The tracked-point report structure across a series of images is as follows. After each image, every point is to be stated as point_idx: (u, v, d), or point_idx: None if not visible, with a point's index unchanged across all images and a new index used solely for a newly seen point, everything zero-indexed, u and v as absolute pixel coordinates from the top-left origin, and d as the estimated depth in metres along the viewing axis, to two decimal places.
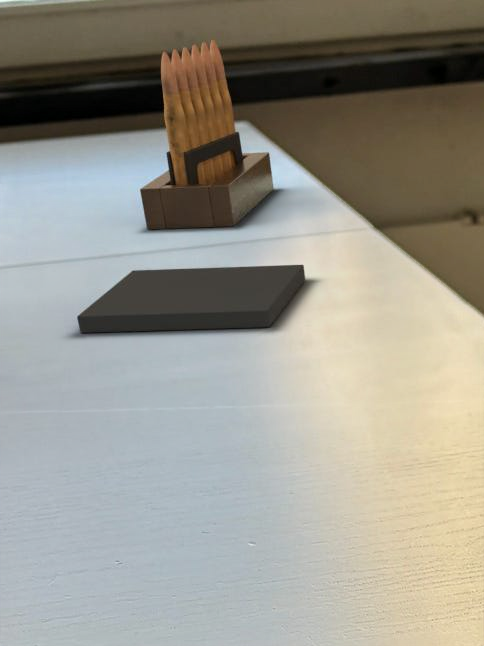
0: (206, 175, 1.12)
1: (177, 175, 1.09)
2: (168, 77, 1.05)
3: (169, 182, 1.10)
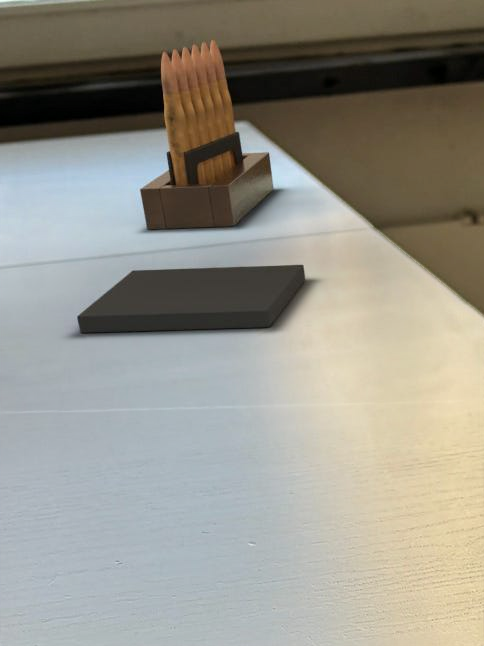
0: (206, 175, 1.12)
1: (177, 175, 1.09)
2: (168, 77, 1.05)
3: (169, 182, 1.10)
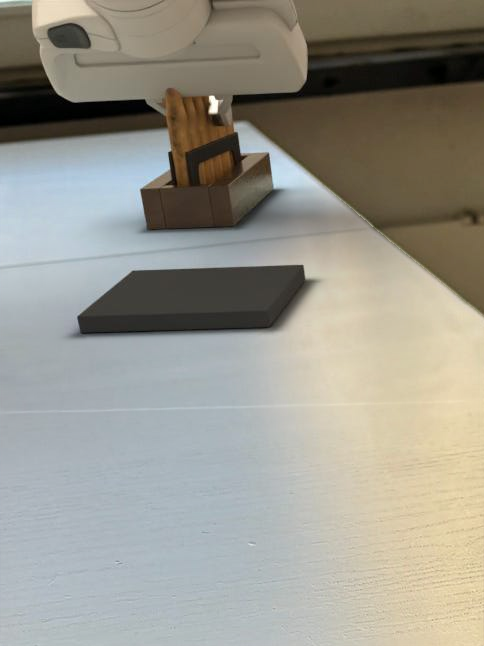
0: (206, 175, 1.12)
1: (179, 175, 1.09)
2: None
3: (169, 182, 1.10)
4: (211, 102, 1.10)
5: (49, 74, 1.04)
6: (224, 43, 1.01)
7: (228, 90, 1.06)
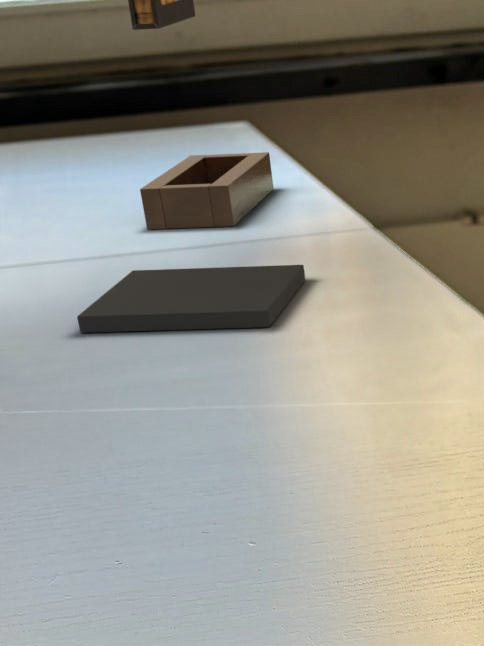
0: None
1: None
2: None
3: (169, 182, 1.10)
4: None
5: None
6: None
7: None
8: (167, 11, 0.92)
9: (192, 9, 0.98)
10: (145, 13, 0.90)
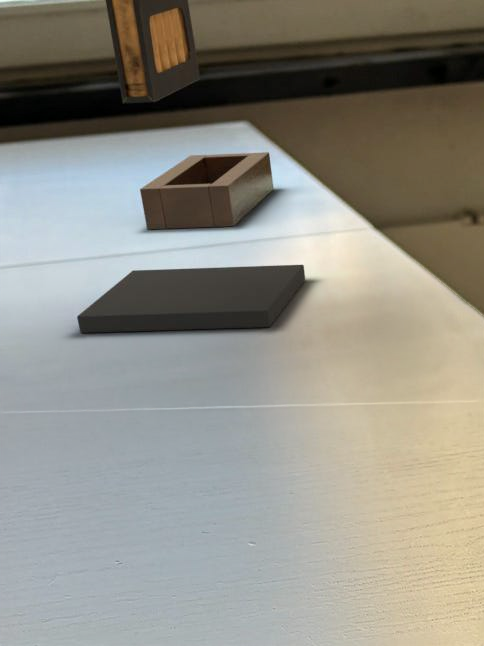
0: (156, 38, 0.78)
1: (123, 32, 0.74)
2: None
3: (169, 182, 1.10)
4: None
5: None
6: None
7: None
8: (164, 79, 0.78)
9: (196, 71, 0.84)
10: (138, 84, 0.76)
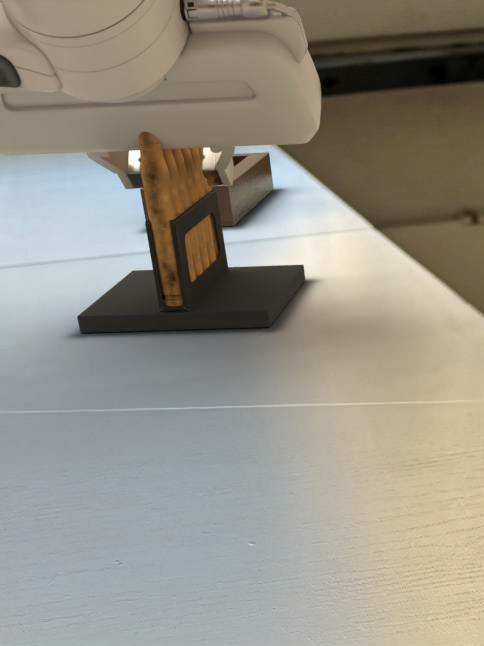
0: (190, 248, 0.84)
1: (161, 251, 0.81)
2: None
3: None
4: (206, 154, 0.82)
5: None
6: (206, 80, 0.73)
7: (213, 141, 0.78)
8: (198, 286, 0.84)
9: (225, 265, 0.90)
10: (174, 296, 0.82)
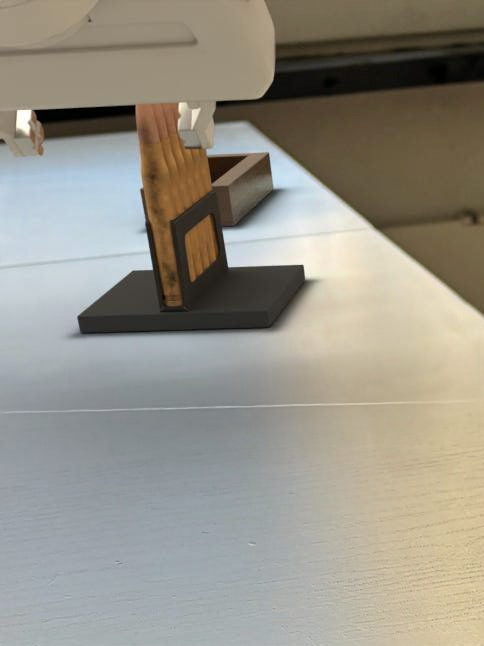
0: (190, 248, 0.84)
1: (161, 251, 0.81)
2: (147, 121, 0.77)
3: None
4: (182, 112, 0.71)
5: None
6: (138, 21, 0.62)
7: (150, 96, 0.67)
8: (198, 286, 0.84)
9: (225, 265, 0.90)
10: (174, 296, 0.82)
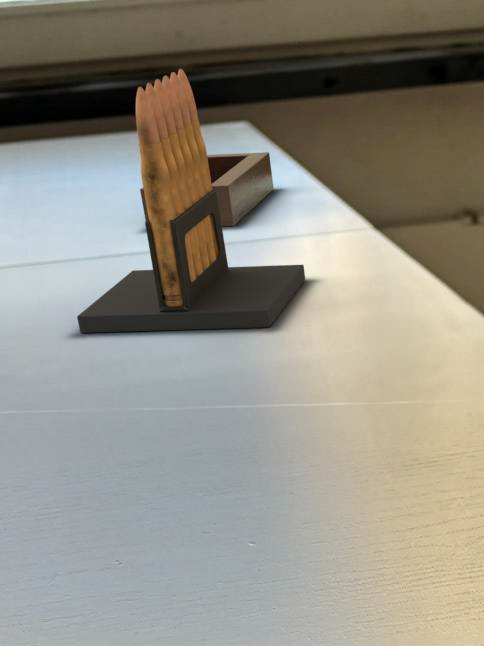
0: (190, 248, 0.84)
1: (161, 251, 0.81)
2: (147, 121, 0.77)
3: None
4: None
5: None
6: None
7: None
8: (198, 286, 0.84)
9: (225, 265, 0.90)
10: (174, 296, 0.82)
